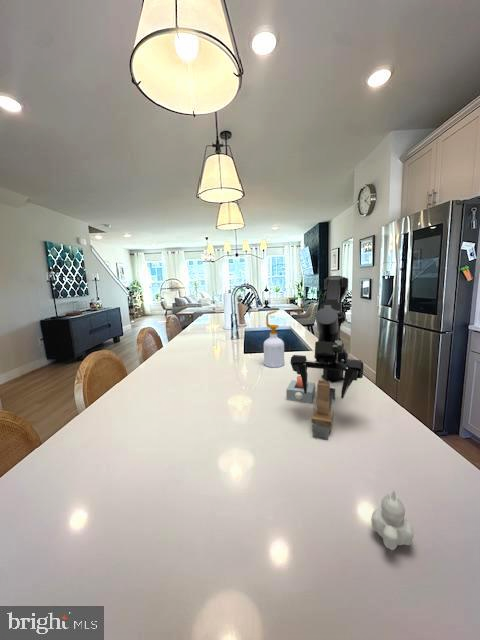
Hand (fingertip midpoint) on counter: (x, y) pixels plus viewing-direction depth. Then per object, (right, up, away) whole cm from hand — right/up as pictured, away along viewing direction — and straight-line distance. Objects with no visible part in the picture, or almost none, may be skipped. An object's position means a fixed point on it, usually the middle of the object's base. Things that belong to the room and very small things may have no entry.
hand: (323, 395), depth 69 cm
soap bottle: (-6, -1, +51) cm, 52 cm away
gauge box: (-1, -6, +19) cm, 20 cm away
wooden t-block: (0, -8, 0) cm, 7 cm away
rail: (+3, -7, +7) cm, 11 cm away
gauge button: (-1, -3, +19) cm, 19 cm away
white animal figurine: (+1, -14, -29) cm, 32 cm away
